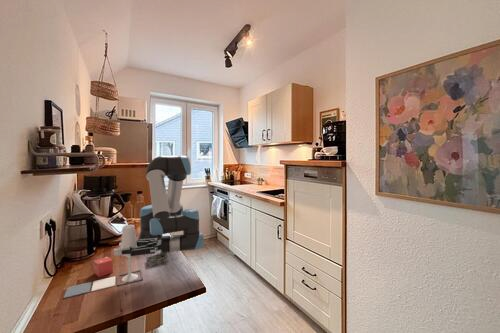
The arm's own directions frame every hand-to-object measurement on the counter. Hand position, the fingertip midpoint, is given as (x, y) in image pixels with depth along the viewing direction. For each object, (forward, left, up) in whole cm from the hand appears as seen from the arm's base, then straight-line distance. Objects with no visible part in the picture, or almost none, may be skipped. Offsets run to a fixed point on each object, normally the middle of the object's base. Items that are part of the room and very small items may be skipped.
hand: (116, 249), depth 101 cm
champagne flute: (-5, +1, -14) cm, 15 cm away
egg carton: (-18, -10, -14) cm, 25 cm away
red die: (+6, -11, -14) cm, 19 cm away
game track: (+5, +1, -14) cm, 15 cm away
